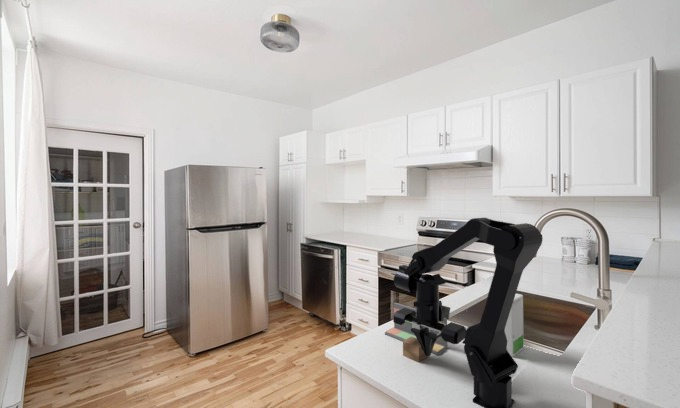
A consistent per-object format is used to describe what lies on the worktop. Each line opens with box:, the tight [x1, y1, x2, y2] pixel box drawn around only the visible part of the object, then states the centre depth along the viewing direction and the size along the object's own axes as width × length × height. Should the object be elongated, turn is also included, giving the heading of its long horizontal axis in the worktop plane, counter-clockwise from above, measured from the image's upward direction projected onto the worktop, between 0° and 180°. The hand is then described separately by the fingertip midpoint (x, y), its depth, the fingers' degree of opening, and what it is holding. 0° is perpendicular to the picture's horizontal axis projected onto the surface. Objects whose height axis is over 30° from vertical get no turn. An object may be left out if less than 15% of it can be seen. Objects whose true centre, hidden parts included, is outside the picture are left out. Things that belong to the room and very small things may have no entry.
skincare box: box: [505, 293, 525, 358], centre depth 88 cm, size 8×7×16 cm
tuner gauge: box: [384, 302, 448, 356], centre depth 93 cm, size 18×6×9 cm, turn 44°
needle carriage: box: [402, 337, 428, 363], centre depth 85 cm, size 5×6×4 cm
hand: (428, 355), depth 82 cm, fingers closed
